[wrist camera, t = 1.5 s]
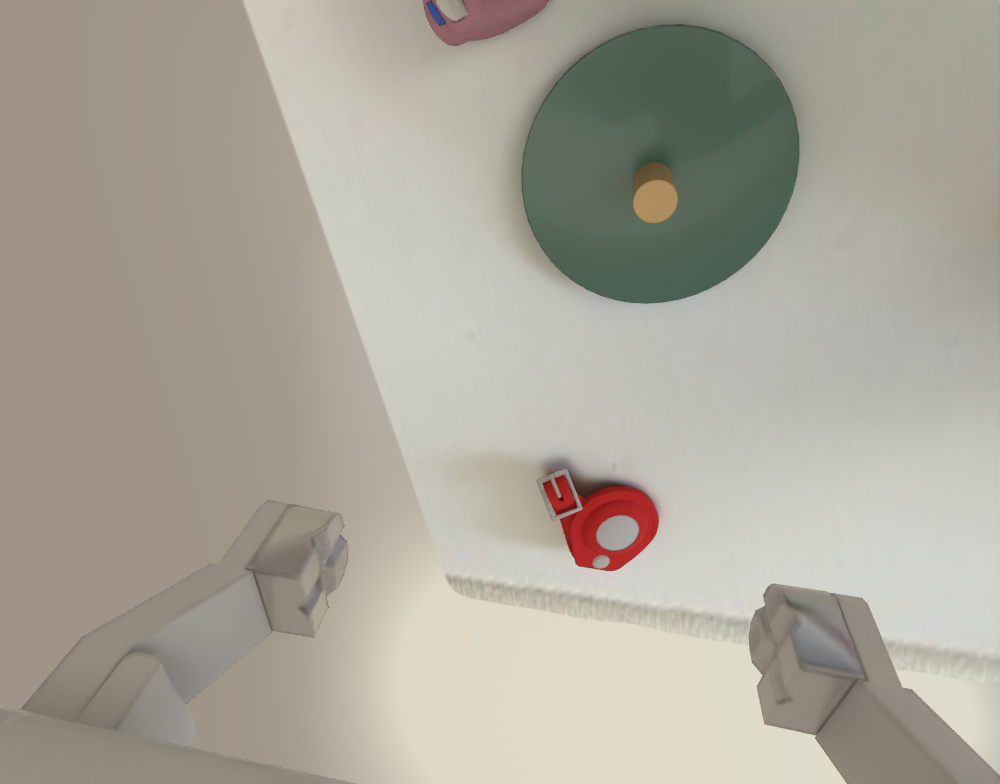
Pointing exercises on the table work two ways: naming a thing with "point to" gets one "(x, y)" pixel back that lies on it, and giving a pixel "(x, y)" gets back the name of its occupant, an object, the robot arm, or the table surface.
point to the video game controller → (477, 17)
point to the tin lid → (660, 163)
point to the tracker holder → (601, 521)
